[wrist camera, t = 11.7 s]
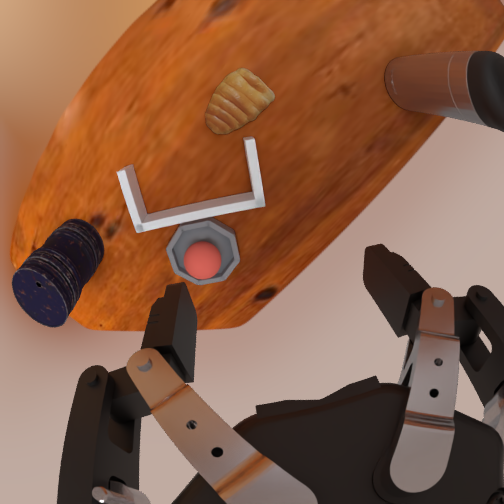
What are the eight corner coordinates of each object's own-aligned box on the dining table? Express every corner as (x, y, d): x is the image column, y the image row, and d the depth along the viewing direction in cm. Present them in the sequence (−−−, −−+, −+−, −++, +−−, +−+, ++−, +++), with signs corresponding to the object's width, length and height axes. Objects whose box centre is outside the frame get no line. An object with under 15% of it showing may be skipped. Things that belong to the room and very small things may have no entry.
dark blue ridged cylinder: (97, 278, 43) (65, 338, 30) (53, 255, 40) (12, 307, 27) (111, 233, 39) (72, 290, 26) (63, 208, 36) (11, 254, 23)
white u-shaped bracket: (251, 136, 34) (254, 138, 31) (261, 197, 39) (265, 206, 36) (125, 166, 34) (116, 172, 31) (142, 223, 39) (136, 233, 36)
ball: (217, 231, 40) (216, 250, 35) (224, 262, 43) (225, 283, 38) (181, 238, 40) (176, 257, 36) (191, 268, 43) (187, 289, 38)
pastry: (230, 144, 35) (230, 148, 32) (192, 114, 32) (188, 114, 29) (277, 95, 32) (282, 94, 29) (239, 64, 29) (241, 59, 26)
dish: (230, 211, 40) (230, 216, 38) (242, 270, 45) (243, 276, 43) (162, 225, 40) (159, 230, 38) (181, 282, 45) (180, 288, 43)
